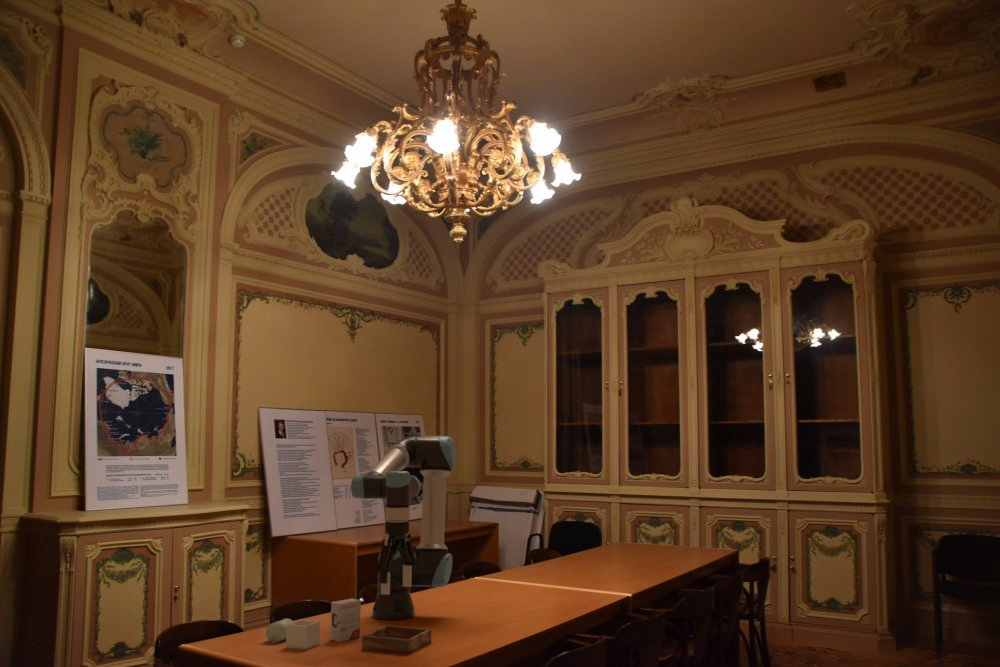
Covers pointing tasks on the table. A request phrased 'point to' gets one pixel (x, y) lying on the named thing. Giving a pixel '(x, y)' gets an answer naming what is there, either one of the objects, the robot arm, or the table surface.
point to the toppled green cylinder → (277, 630)
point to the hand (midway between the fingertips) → (396, 590)
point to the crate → (396, 639)
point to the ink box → (345, 619)
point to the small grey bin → (302, 634)
